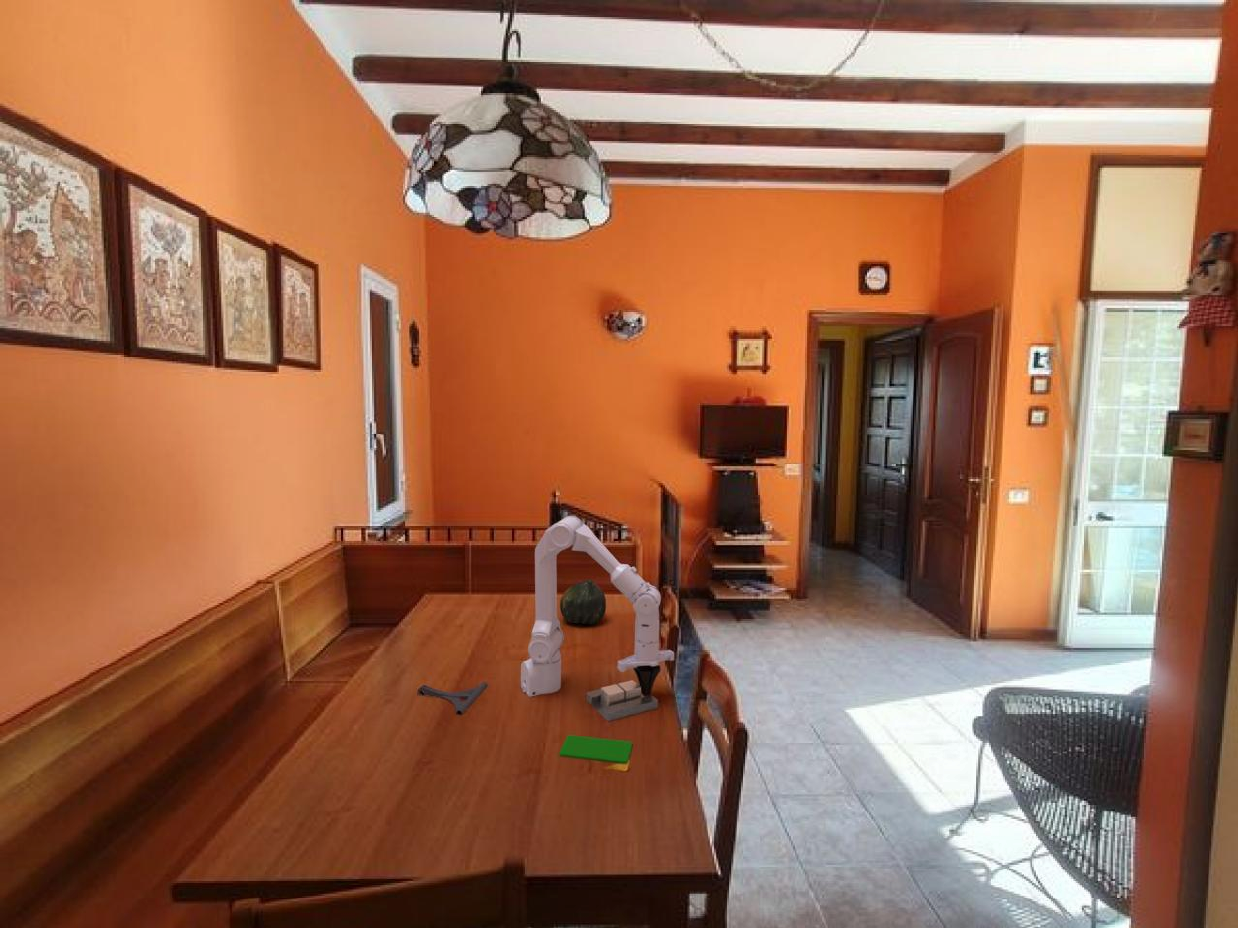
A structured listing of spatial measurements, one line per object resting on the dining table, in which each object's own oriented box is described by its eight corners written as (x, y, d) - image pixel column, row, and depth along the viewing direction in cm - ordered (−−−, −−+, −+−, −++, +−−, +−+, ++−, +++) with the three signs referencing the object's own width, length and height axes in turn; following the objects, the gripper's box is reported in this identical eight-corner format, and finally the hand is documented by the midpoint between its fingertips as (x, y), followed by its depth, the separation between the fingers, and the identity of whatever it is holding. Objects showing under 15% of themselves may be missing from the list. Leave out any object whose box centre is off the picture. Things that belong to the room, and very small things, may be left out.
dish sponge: (627, 773, 116) (627, 761, 116) (558, 765, 119) (558, 753, 119) (632, 752, 123) (633, 741, 123) (567, 745, 126) (567, 734, 126)
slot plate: (607, 727, 132) (607, 713, 131) (586, 705, 141) (586, 692, 141) (657, 713, 138) (658, 700, 138) (633, 693, 148) (634, 680, 147)
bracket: (433, 682, 153) (432, 672, 153) (487, 688, 151) (487, 677, 151) (403, 711, 139) (402, 699, 139) (462, 717, 137) (462, 706, 136)
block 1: (608, 711, 136) (608, 695, 135) (600, 704, 139) (600, 687, 139) (623, 707, 138) (624, 691, 137) (615, 700, 141) (615, 684, 141)
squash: (555, 597, 203) (562, 573, 193) (597, 595, 208) (607, 571, 197) (560, 636, 194) (568, 612, 183) (604, 633, 198) (615, 610, 188)
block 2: (625, 707, 138) (626, 690, 137) (617, 699, 141) (617, 683, 141) (640, 703, 140) (641, 687, 139) (632, 696, 143) (632, 680, 143)
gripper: (628, 650, 134) (627, 708, 136) (681, 639, 141) (680, 694, 143) (613, 639, 140) (612, 694, 142) (665, 629, 147) (664, 682, 149)
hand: (645, 693), depth 143 cm, fingers closed
